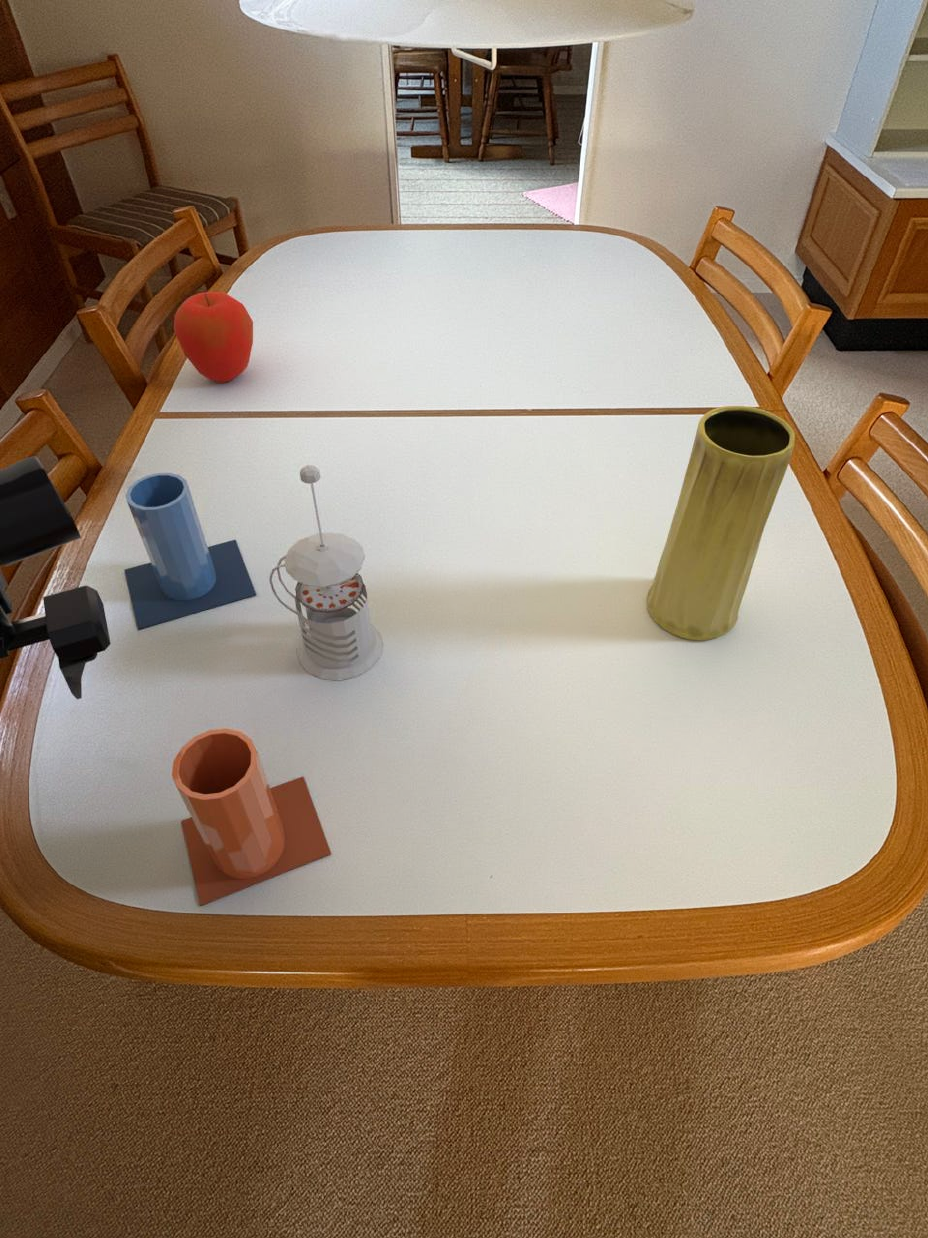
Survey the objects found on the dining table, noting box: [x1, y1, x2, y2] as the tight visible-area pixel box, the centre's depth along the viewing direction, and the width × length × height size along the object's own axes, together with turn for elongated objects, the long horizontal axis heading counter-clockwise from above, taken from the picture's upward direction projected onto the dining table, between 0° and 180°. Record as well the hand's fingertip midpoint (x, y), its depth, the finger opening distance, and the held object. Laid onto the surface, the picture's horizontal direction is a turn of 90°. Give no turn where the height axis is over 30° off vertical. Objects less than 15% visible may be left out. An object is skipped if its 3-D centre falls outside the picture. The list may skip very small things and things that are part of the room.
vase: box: [646, 405, 796, 641], centre depth 85 cm, size 11×11×25 cm
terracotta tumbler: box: [171, 727, 285, 879], centre depth 68 cm, size 7×7×14 cm
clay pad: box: [180, 775, 332, 907], centre depth 74 cm, size 12×9×1 cm
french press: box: [268, 464, 384, 682], centre depth 81 cm, size 10×12×25 cm
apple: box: [173, 291, 254, 384], centre depth 125 cm, size 12×12×14 cm
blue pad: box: [124, 539, 257, 631], centre depth 97 cm, size 14×11×1 cm
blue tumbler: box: [125, 472, 216, 601], centre depth 92 cm, size 7×7×14 cm
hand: (23, 712), depth 69 cm, fingers open, 9 cm apart
